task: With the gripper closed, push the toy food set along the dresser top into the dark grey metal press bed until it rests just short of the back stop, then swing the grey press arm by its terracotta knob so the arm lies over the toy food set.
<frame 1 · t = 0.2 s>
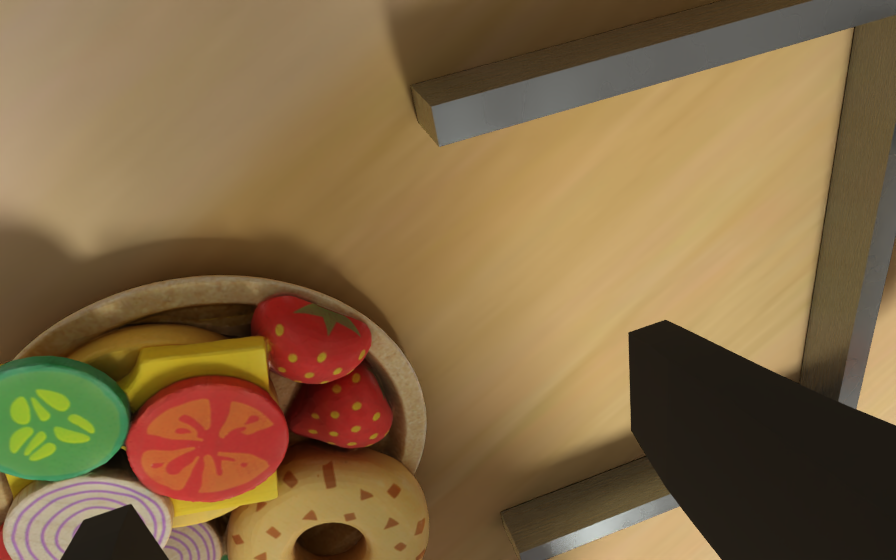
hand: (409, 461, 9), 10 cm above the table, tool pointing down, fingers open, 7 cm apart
press bed: (643, 303, 23), on the table
toy food set: (217, 437, 21), on the table
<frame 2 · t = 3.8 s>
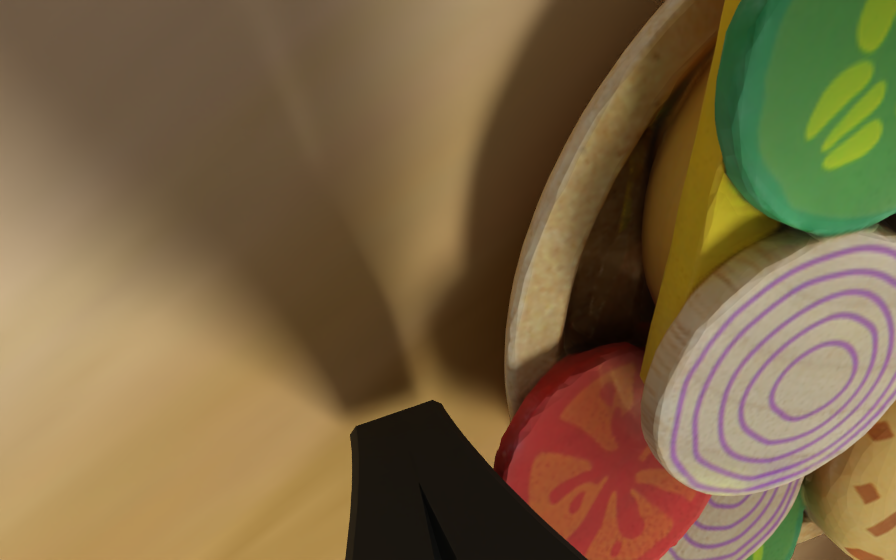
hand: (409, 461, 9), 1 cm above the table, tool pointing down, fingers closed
toy food set: (802, 256, 12), on the table, touching gripper
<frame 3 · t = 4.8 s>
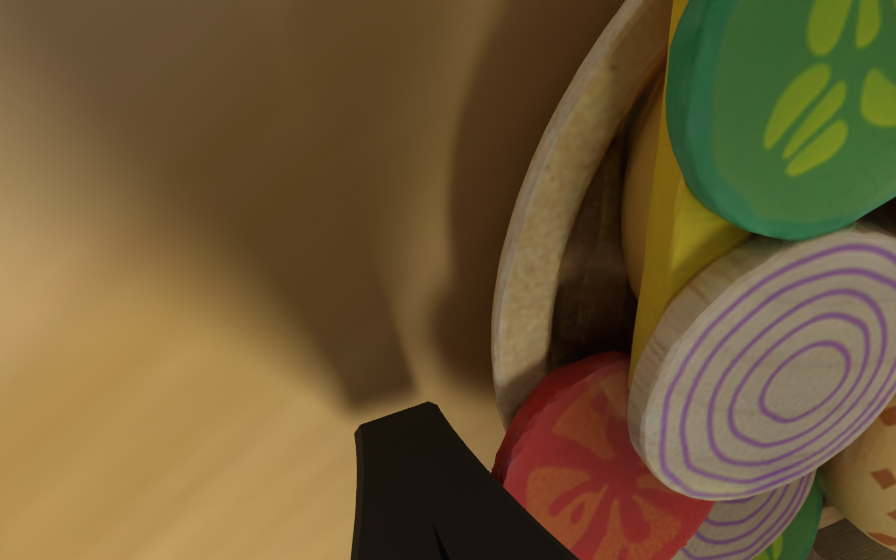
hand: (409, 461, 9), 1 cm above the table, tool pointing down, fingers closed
toy food set: (801, 240, 12), on the table, touching gripper
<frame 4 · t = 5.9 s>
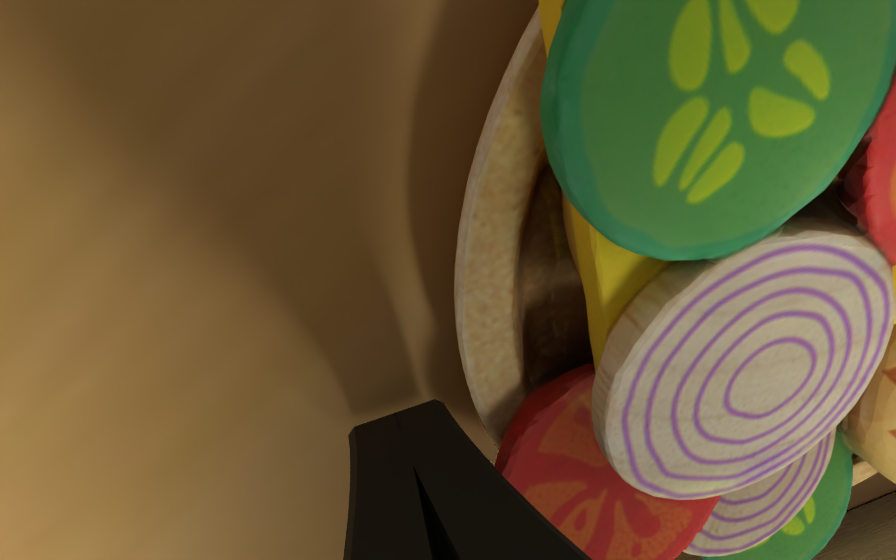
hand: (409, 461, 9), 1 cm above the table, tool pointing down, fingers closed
press bed: (878, 245, 12), on the table
toy food set: (784, 207, 11), on the table, touching gripper
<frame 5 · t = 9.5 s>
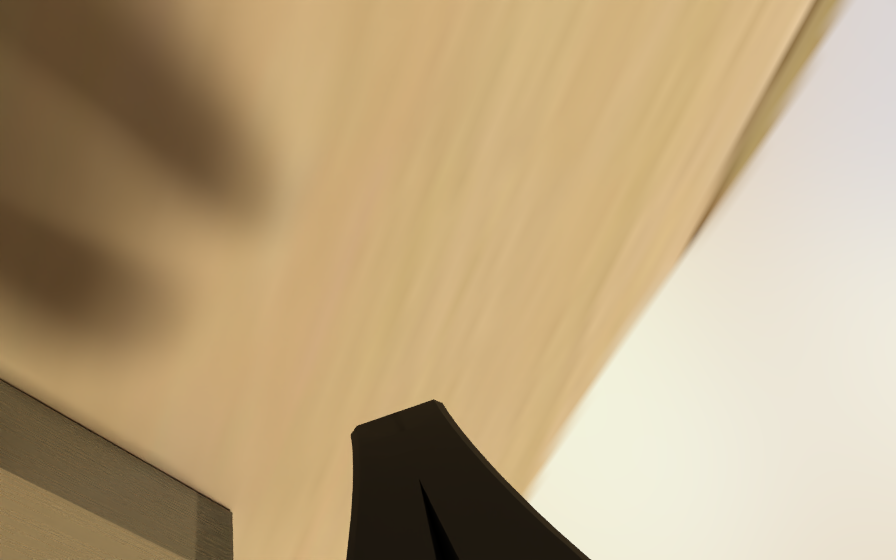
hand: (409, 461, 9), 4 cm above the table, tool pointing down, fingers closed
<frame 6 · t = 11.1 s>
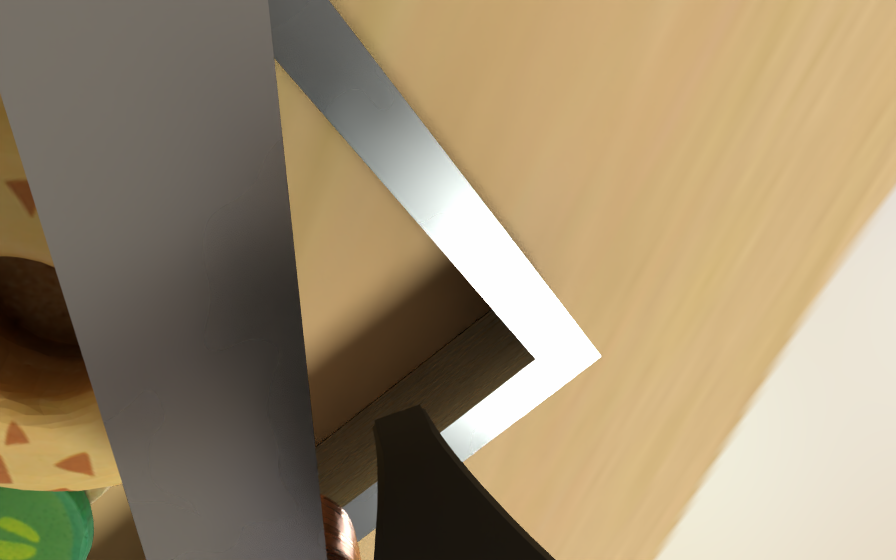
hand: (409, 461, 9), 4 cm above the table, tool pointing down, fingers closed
press arm: (150, 44, 5), point 6 cm above the table, hinge at 36.7°, touching gripper
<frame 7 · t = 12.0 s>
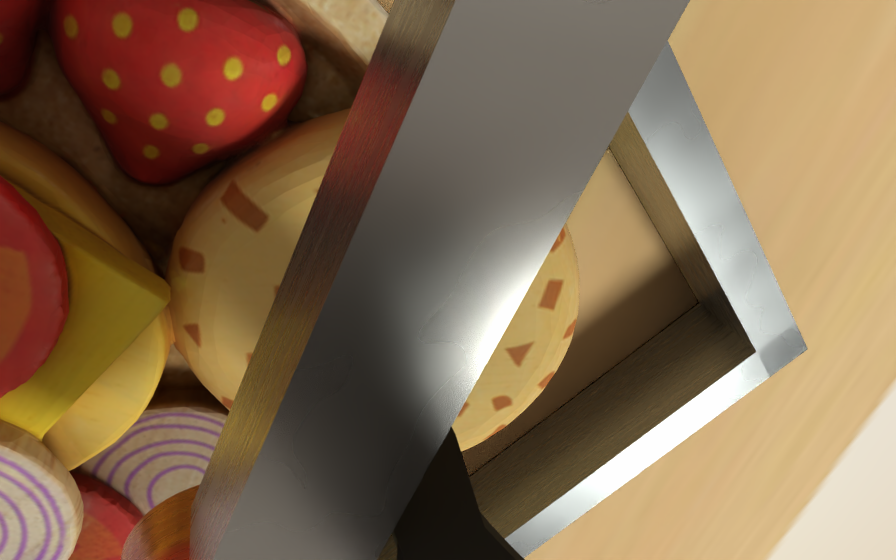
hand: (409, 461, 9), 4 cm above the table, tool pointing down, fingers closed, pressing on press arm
press bed: (213, 289, 12), on the table
toy food set: (111, 279, 12), on the table
press arm: (498, 70, 5), point 6 cm above the table, hinge at 61.9°, touching gripper
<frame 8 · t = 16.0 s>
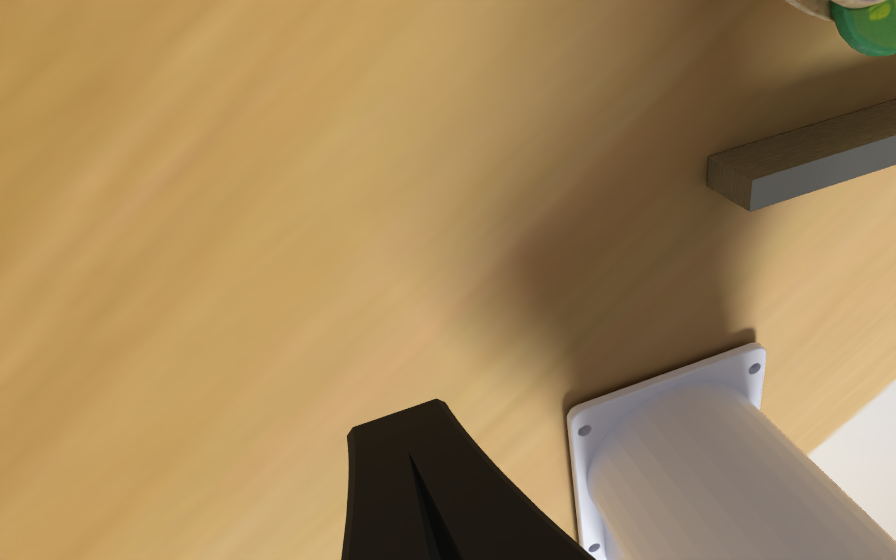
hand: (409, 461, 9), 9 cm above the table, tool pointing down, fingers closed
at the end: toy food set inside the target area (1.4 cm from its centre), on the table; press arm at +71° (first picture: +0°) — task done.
